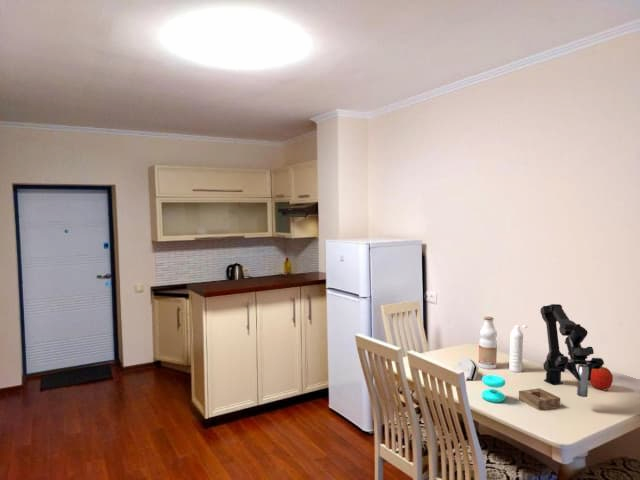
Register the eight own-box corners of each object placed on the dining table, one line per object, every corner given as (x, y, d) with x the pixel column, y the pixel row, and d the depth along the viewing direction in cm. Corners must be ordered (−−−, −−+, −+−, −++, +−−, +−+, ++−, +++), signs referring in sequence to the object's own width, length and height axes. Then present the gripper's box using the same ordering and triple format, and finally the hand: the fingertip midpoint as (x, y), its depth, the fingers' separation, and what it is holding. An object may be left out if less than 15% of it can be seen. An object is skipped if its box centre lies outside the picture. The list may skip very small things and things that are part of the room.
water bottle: (511, 372, 248) (513, 326, 247) (507, 368, 255) (508, 324, 253) (528, 372, 248) (529, 327, 247) (523, 368, 254) (524, 324, 253)
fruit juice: (484, 370, 252) (486, 319, 250) (475, 364, 261) (476, 315, 259) (499, 368, 254) (501, 319, 252) (489, 363, 263) (491, 315, 261)
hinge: (452, 369, 251) (459, 352, 251) (460, 372, 252) (466, 355, 252) (465, 381, 235) (472, 362, 235) (474, 383, 235) (480, 365, 235)
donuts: (482, 373, 218) (505, 375, 214) (481, 393, 218) (504, 396, 215) (482, 380, 208) (505, 383, 205) (481, 401, 209) (505, 404, 206)
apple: (614, 388, 227) (615, 365, 226) (609, 393, 219) (610, 370, 219) (590, 382, 233) (591, 360, 233) (585, 388, 226) (586, 365, 225)
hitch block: (539, 396, 215) (539, 388, 215) (560, 406, 204) (560, 398, 204) (518, 399, 212) (518, 390, 211) (538, 410, 200) (538, 401, 200)
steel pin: (582, 393, 203) (583, 364, 203) (589, 396, 200) (591, 367, 199) (574, 394, 202) (576, 365, 201) (582, 397, 198) (583, 368, 198)
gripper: (558, 338, 205) (567, 371, 194) (603, 340, 202) (614, 373, 192) (551, 350, 213) (559, 382, 203) (594, 352, 210) (604, 384, 200)
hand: (584, 380), depth 199 cm, fingers closed on steel pin, 4 cm apart
